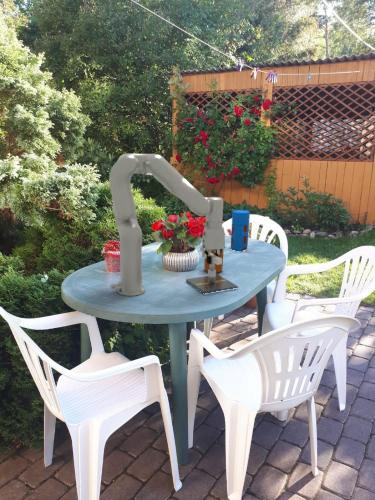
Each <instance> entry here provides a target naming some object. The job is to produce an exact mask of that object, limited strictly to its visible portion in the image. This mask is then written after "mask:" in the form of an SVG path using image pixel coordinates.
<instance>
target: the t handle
mask: <svg viewBox="0 0 375 500" xmlns="http://www.w3.org/2000/svg"><path fill="white" fill-rule="evenodd" d="M210 256H211V264H210V269H211V270H214V269H215V264H217V265H220V264H222V258H220V257H218V256H216V255H214V254H212V253H211V255H210ZM201 257H202V258H204V259H205V258H206V254H205V253H204V252H202V251H201Z"/></svg>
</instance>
